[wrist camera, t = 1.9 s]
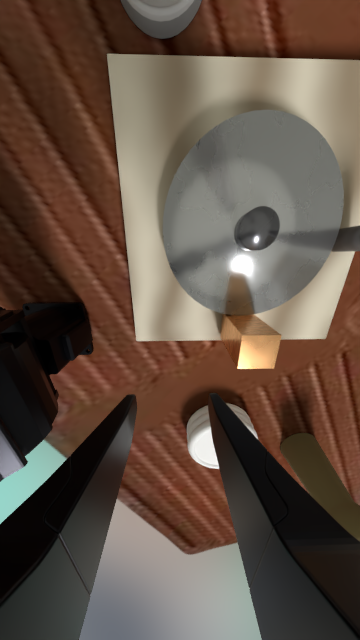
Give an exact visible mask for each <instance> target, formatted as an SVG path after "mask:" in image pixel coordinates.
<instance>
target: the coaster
mask: <svg viewBox="0 0 360 640" xmlns="http://www.w3.org/2000/svg"><path fill="white" fill-rule="evenodd" d="M226 404H227V405H228V406H229V407H230V409H231V410H232V411H233V412H234V413H235V414H236V415H237V416H238V418H239V419H240V420H241V421H242V422H243V423H244V424H245V426H246V427H247V428H248V429H249V430H250V431H251V432H252V433H253V435H254V436H255V437H256V438H257V439H258V437H257V433H256V431H255V430H254V427H253V425H252V423H251V421H250V418H249V416H248V415H247V413H246V412H245V411H244V410H243V409H241V408H240V407H238V406H236V405H233V404H229V403H226ZM187 440H188V450H189V453H190V455H191V456H192V458H193V459H194V460H195V461H197V462H198V463H199V464H201V465H203V466H206V467H209V468H216V469H219V465H218V461H217V456H216V452H215V448H214V444H213V439H212V433H211V426H210V419H209V412H208V405H207V406H204V407H202V408H200V409H199V410H197V411H196V412H195V413H194V414H193V415H192V416H191V417H190V419H189V421H188V424H187Z"/></svg>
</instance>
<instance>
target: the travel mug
mask: <svg viewBox="0 0 360 640" xmlns="http://www.w3.org/2000/svg"><path fill="white" fill-rule="evenodd" d="M201 1H202V0H121V3H122V5H123V7H124V9H125V11H126V12H127V14H128V16H129V17H130V19H131V20H132V21H133V22H134V23H135V25H136V26H137V27H138V28H139V29H141V30H142V31H143V32H144V33H146V34H148V35H150V36H152V37H155V38H160V39H164V38H171V37H173V36H175V35H178V34H179V33H180V32H182V31H183V30H184V29H185V28H186V27H187V26H188V25H189V23H190V22H191V21H192V20H193V18H194V16H195V14H196V13H197V11H198V9H199V6H200V4H201Z"/></svg>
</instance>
